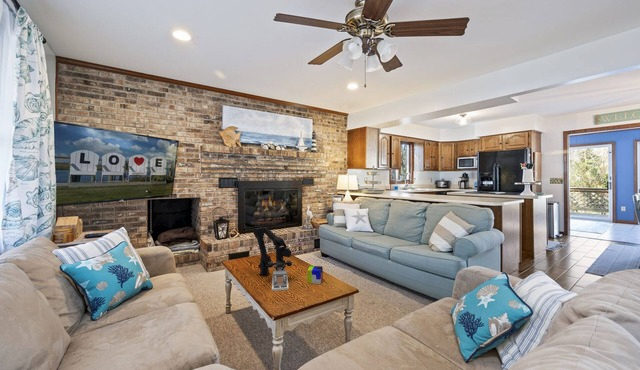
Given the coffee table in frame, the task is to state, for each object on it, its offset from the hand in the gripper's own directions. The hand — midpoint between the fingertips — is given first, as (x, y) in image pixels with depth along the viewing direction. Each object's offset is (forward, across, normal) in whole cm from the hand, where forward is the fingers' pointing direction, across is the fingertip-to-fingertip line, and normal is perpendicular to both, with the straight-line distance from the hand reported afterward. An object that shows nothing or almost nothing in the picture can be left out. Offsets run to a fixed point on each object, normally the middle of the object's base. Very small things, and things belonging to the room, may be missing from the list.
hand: (279, 274), depth 213 cm
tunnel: (+2, 0, -11) cm, 11 cm away
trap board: (+4, 0, -8) cm, 9 cm away
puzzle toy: (+4, +27, -8) cm, 29 cm away
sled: (+2, 0, -6) cm, 7 cm away
